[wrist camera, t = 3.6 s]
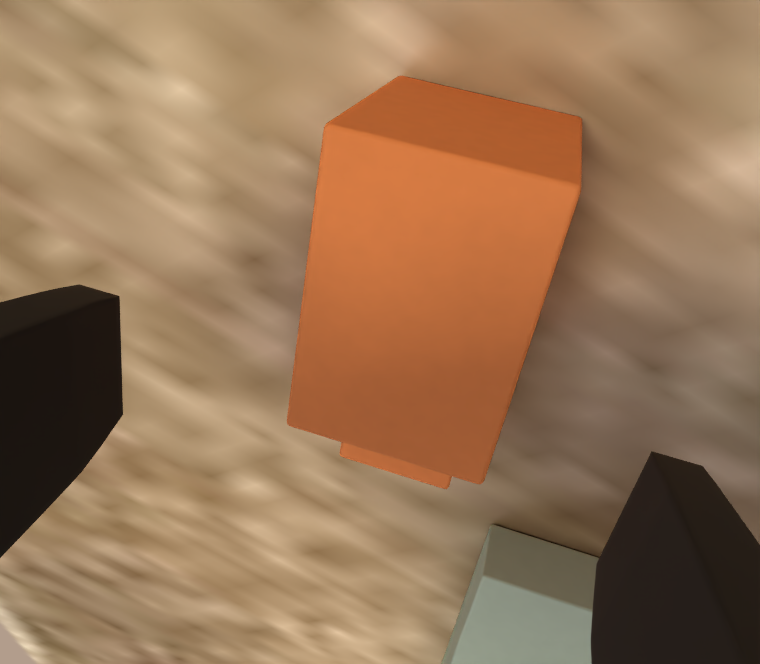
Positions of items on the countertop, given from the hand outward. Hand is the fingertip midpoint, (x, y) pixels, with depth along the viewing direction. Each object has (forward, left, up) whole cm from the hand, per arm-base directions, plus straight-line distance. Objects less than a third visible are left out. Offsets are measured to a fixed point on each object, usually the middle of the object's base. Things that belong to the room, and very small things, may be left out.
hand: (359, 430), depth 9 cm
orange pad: (0, +2, -8) cm, 8 cm away
